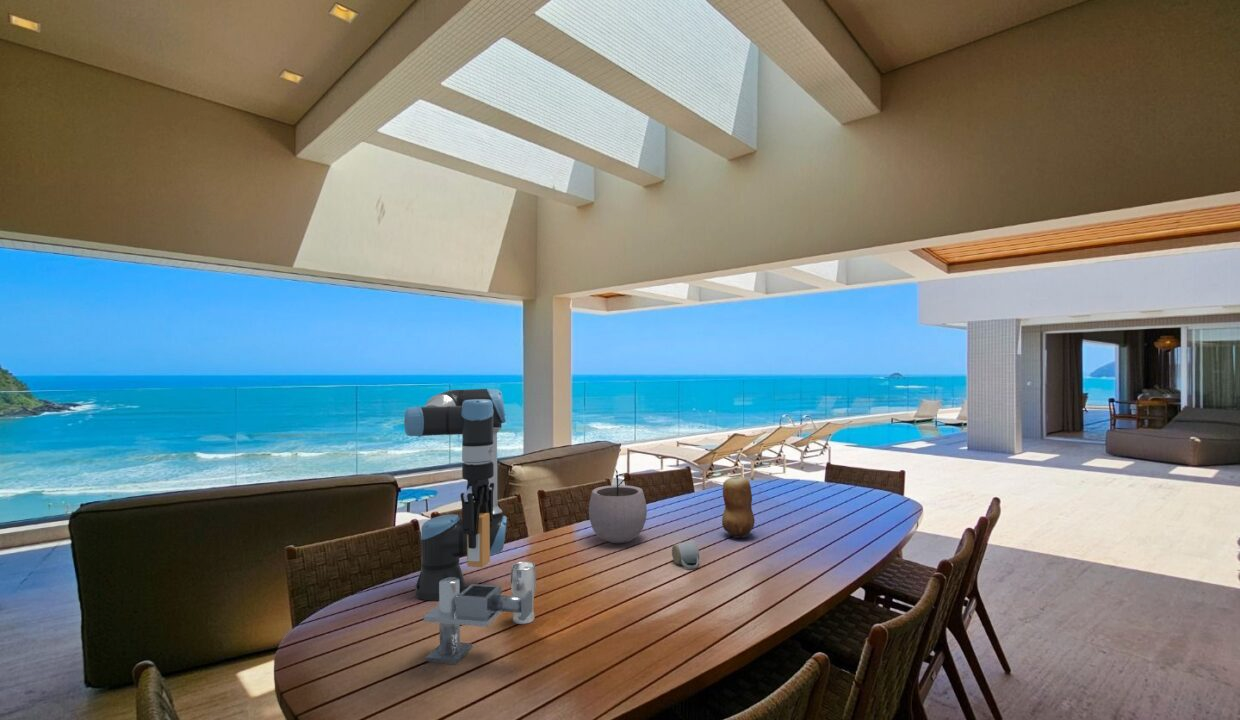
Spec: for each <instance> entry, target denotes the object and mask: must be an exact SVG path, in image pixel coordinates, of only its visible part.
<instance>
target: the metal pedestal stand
mask: <svg viewBox="0 0 1240 720" xmlns="http://www.w3.org/2000/svg"><path fill="white" fill-rule="evenodd" d="M459 594H460V583H459V578H456V577H449V578H445V579H442V580H440V582H439V600H438V601H439V602H438V604H437V605H436V606H435V607H434V608H432V609H431V610H429V612H427V613H426V614H425V615H424V616H423V622H425V623H436V624H439V626H438V627H439V644H438V645H437V646H436V647H435V648H434V649H433V650H432V651H431V652H430V653H429V654H428V655H427V656H426V657H425V661H426V662H428V663H429V662H430V663H437V664H438V663H440V664H447V665H448V664H449V665H458V664H459V663H460V661H462V660H463V658H464V657H465V656H466V655H467V654H468V653H469V652H470V651H471V650H472V649H473V642H472V643H471V642H461V636H460V635H461V633H460V632H461V629H460V628H461V626H471V627H484V628H489V626H490V625H491V624H492V623H493V622H494V620H496V619H497V618H498V616H499V615H500V614H501V613H502V612H501V611H495V612H494V613H493V614H492V615H491V616H490V617H489V618H488V619H487V620H484V619H472V618H461V617H456V597H457V596H458V595H459Z"/></svg>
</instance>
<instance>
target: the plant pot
mask: <svg viewBox="0 0 1240 720" xmlns="http://www.w3.org/2000/svg"><path fill="white" fill-rule="evenodd" d="M613 472H614V474H616V475H615V479H616V484H615V485H613V484H612V485H604V486H600V487H596V488H594V489H592V490H591V495H590V499H589V504H588V517H589V522H590V524H591V528H592V530H593V532H594V533H595V534H596V536H598V537H599V538H600V539H602V540H603V541H605V542H607V543H611V544H625V543H628V542H630V541H632V540H634V539H635V538H636V537H638V536H640V534H641V533H642V531H643V529H644V526H645V523H646V522H647V521H646V520H647V515H648V511H647V510H648V509H647V502H646V501H647V500H646V498H645V495H644V494H645V493H644V490H643V489H642V488H641V487H640V486H639V487H638V486H634V485H633V486H632V485H625V484H624V485H622V484H623V482H626V480H627V478H628V476H626V477H625V478H624V479H623V480H621V482H620V483H619V476H623V475H625V474H626V473H625V472H623V473H619V472H618V470H617V469H616V468H615V471H613ZM618 473H619V474H618Z"/></svg>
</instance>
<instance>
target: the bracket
mask: <svg viewBox="0 0 1240 720" xmlns="http://www.w3.org/2000/svg"><path fill="white" fill-rule="evenodd" d="M495 611H501V613H502V612H503V613H512V614H514V613H521V620H522V621H525V620H526V618H527V617H528V616H529V615H530V614H531V612H532V591H528V592H527V593H526V594H525V595H524V597H519V596H512V595H506V594H502V585H493V584H492V585H491V584H480V583H479V584H478V583H471V584H470V585H469V586H468V587H465V589H464V591H463V592H461V593H460V594H459V595H458V596H457V597H456V617H461V618H472V619H484V620H487V619H488V618H489V617H490V616H491V615H492V614H493V613H494V612H495Z"/></svg>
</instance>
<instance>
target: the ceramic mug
mask: <svg viewBox="0 0 1240 720" xmlns="http://www.w3.org/2000/svg"><path fill="white" fill-rule="evenodd" d="M671 556H672V560H673V562H674V563H675V564H676V565H682V566H683V567H684V568H686V569H687V570H696V569H697V568H698V566H699V561H700V550H699V547H698V544H697V543H696V541H695V540H693V539H691V540H688V541H684V542H678V543H676V544H674V545H672V547H671ZM690 564H693V565H690ZM694 564H695V565H694Z"/></svg>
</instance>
